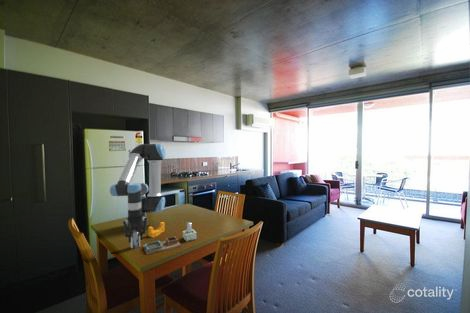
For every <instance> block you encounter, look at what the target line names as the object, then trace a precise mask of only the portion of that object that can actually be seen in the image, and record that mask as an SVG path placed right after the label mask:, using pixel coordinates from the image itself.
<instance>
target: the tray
mask: <svg viewBox="0 0 470 313" xmlns="http://www.w3.org/2000/svg"><path fill="white" fill-rule="evenodd" d="M182 238H183V240H184V241H185V242H186V243H187V242H190V241H191V242H192V241H195V240H197V231H195V229H193V228H192V233H190V234H187V229H186V230H183V231H182Z"/></svg>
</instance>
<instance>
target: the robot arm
mask: <svg viewBox="0 0 470 313" xmlns="http://www.w3.org/2000/svg"><path fill="white" fill-rule="evenodd" d="M165 158H166V150H165V147H164V145H163V144H161V143H141V144H138V145H136V146H135V147H134V148H133V149H132V150H131V151H130V152H129V154H128V160H127V162H126V164H125V167H124V168H123V171H122V172H121V174H120V177H119V179H118V181H117V183H114V184H112V185H111V186H110V188H109V193H110V195H111V196H112V197H127V219H125V220H122V223H123V226H124V228H123V229H124V237H125V238H127V239H128V244H129V243H130V248H131V249H133V244H132V231H133V230H135V229H137V230H139V247H141V241H142V240H143V235H144V234H146V227H147V226H148V225H149V221H148V218H147V216H146V213H161V212H163V211H164V209H165V205H166V197H164V195H163V193H162V191H161V186H162V182H161V181H162V171H161V170H162V162H163V161H164V159H165ZM143 159H146V160H147V162H148V164H149V166H148V167H149V169H148V170H149V173H148V177H149V179H148V182H149V184H147V183H143V182H142V183H140V182H133V183H132V180H133V178H134V175H135V173H136V171H137V168H138V166H139V164H140V162H141V161H142V160H143ZM147 193H148V194H147ZM146 194H147V195H146ZM128 229H129V231H128Z"/></svg>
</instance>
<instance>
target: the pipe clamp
mask: <svg viewBox="0 0 470 313" xmlns="http://www.w3.org/2000/svg"><path fill="white" fill-rule="evenodd" d="M165 225H166V224H165V222H163V221H162V222H161V221H160V223H159V226H158V227H157V228H156V229H154V227H153V226H149V227H147V228H148V230H147V231H148V232H147V233H148V235H147V236H148V237H150V238H155V237H157V236H160V235H161V234H162V233H163V232H165V227H166V226H165Z"/></svg>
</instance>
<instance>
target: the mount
mask: <svg viewBox="0 0 470 313" xmlns="http://www.w3.org/2000/svg"><path fill="white" fill-rule="evenodd" d="M142 247H143V250H144V252H145V254H146V255H147V256H148V255H152V254H156V253H160V252H164V251H167V250H171V249H172V250H173V249H177V248H180V247H182V244H181V243H180V241H179V239H178V237H177V236H175V235H174V236H171V237H170V236H169V237H166V238H165V240H161V241H160V240H156V241H152V242H148V243H145V244H143V245H142Z"/></svg>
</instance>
